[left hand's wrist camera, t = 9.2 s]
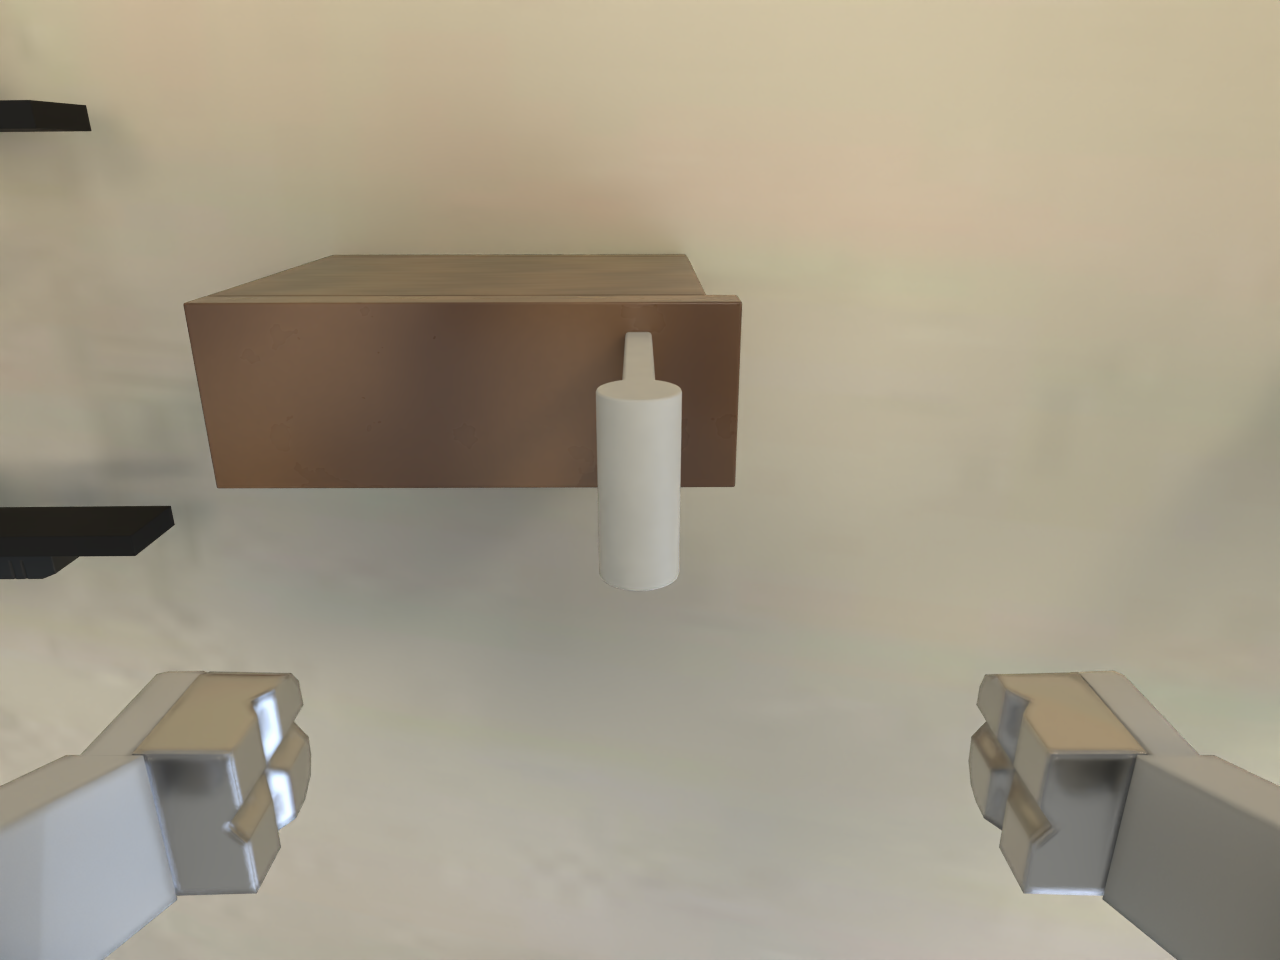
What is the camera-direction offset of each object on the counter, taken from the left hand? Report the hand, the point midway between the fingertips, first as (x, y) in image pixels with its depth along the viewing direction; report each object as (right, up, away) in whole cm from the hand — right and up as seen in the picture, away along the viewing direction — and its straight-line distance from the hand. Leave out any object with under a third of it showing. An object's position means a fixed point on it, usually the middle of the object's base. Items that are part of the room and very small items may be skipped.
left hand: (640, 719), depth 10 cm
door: (-5, +6, +15) cm, 16 cm away
